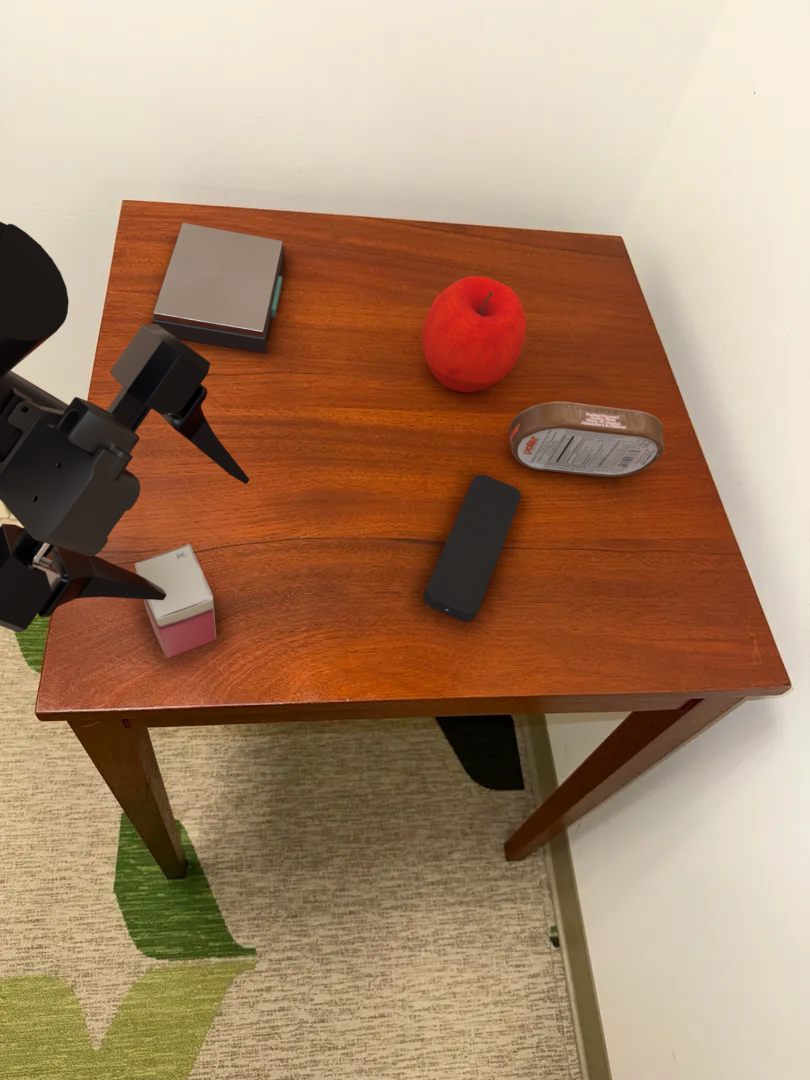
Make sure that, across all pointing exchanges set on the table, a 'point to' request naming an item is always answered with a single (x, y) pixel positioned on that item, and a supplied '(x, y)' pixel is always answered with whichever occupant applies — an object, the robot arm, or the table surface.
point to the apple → (473, 333)
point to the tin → (586, 439)
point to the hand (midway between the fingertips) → (204, 537)
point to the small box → (179, 601)
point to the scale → (221, 288)
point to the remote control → (472, 548)
